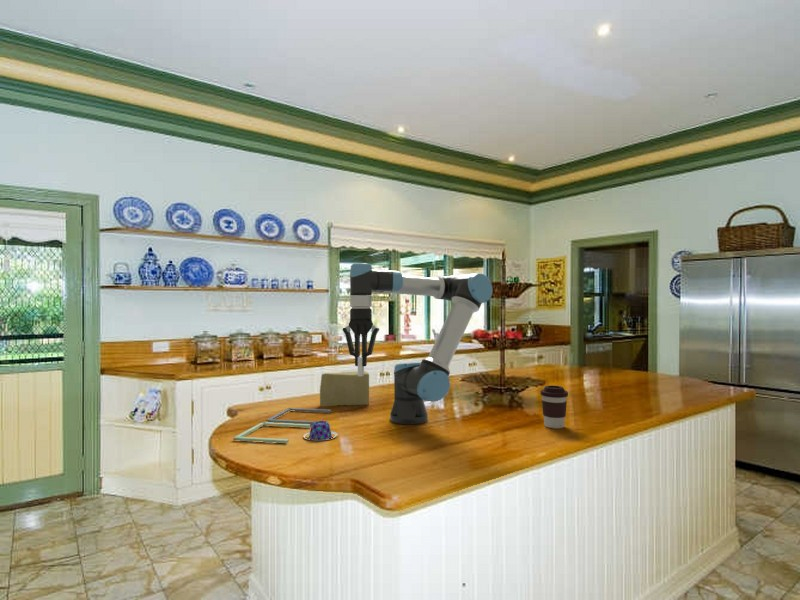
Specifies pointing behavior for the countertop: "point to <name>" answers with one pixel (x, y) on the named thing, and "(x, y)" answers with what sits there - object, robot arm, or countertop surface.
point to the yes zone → (242, 438)
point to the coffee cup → (554, 406)
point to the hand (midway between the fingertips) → (360, 375)
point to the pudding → (320, 431)
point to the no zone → (296, 420)
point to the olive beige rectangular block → (344, 389)
